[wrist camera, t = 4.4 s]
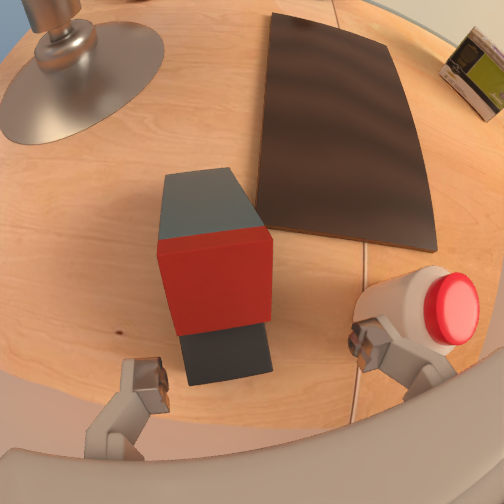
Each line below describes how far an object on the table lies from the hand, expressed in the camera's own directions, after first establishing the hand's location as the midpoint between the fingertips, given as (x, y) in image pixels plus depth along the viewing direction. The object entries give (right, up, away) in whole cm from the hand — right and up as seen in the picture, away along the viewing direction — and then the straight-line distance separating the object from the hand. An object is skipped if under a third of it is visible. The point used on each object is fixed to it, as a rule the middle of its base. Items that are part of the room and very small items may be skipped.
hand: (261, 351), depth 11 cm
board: (+12, +24, +23) cm, 36 cm away
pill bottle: (+13, -3, +17) cm, 21 cm away
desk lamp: (-26, +30, +19) cm, 44 cm away
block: (-3, -3, +14) cm, 15 cm away
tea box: (+46, +39, +33) cm, 69 cm away
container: (-4, +5, +9) cm, 11 cm away
